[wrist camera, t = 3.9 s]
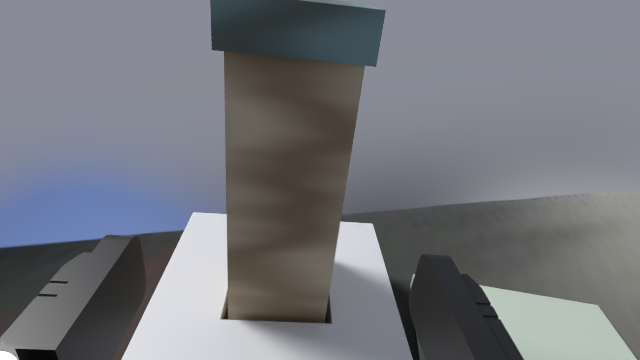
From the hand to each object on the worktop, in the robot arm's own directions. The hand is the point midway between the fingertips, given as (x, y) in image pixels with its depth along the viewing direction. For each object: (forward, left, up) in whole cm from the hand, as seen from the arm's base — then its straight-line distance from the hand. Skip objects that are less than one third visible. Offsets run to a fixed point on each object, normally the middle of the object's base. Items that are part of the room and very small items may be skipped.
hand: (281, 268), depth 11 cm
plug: (-1, +6, -10) cm, 12 cm away
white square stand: (-1, +6, -10) cm, 12 cm away
